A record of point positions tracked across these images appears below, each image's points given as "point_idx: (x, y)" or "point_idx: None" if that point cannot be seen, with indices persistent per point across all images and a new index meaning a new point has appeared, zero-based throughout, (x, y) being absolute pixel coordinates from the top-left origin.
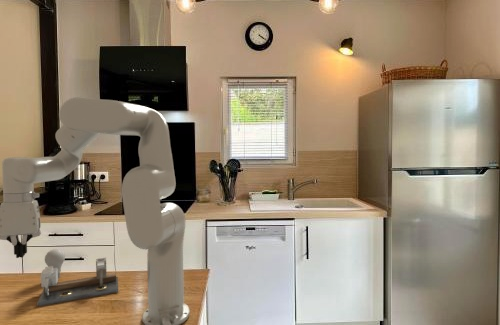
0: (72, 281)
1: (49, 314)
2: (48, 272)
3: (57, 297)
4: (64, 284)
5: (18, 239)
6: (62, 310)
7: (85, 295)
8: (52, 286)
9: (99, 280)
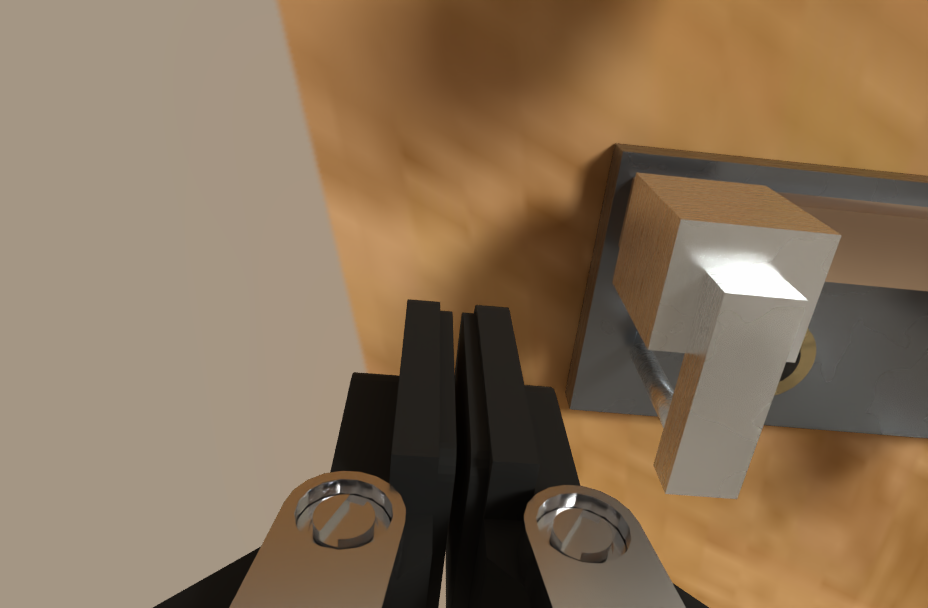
0: (875, 252)
1: None
2: (727, 480)
3: None
4: None
5: (392, 592)
6: (701, 507)
7: (877, 428)
8: None
9: None
